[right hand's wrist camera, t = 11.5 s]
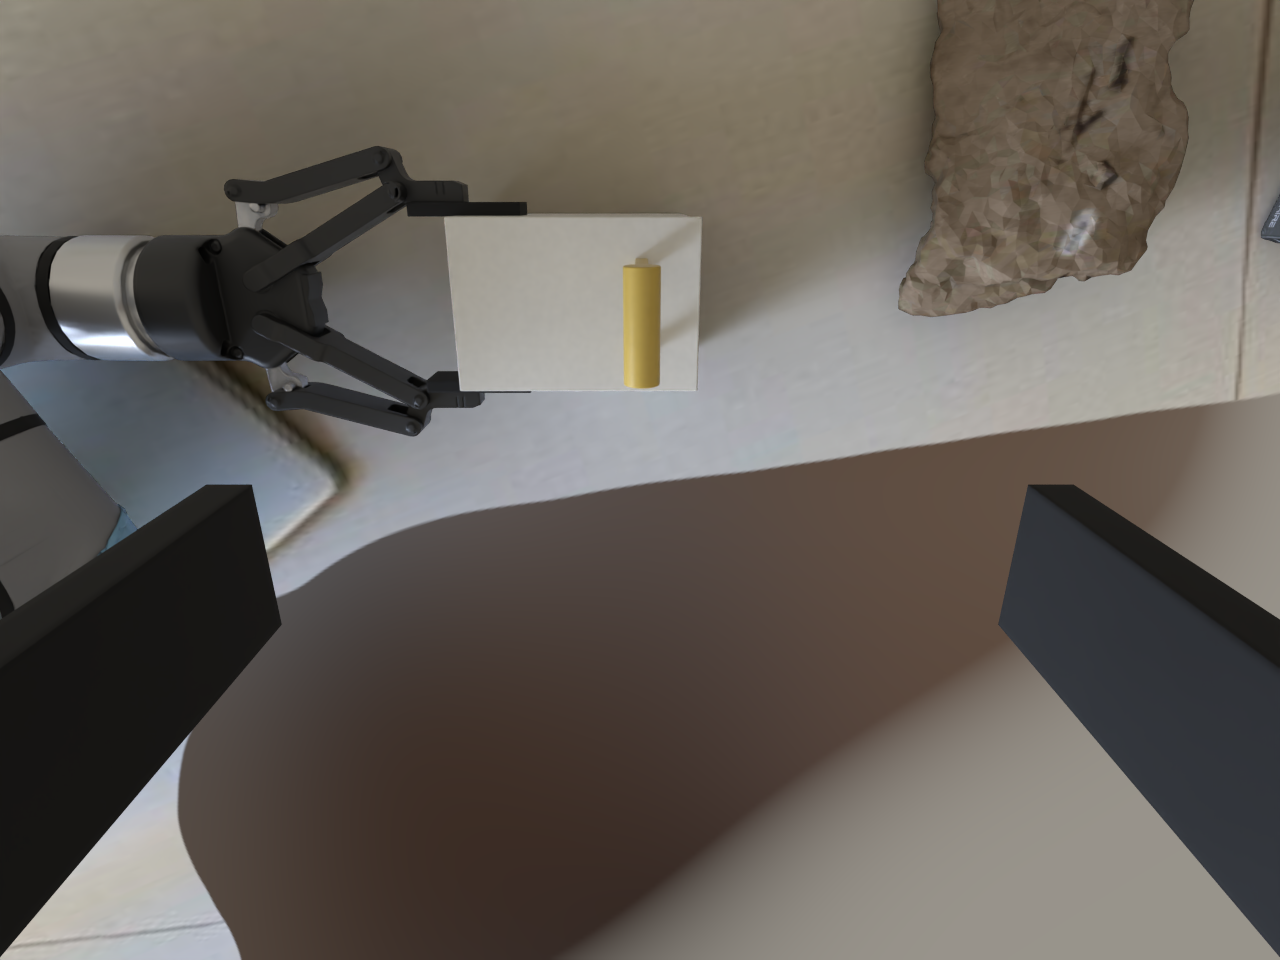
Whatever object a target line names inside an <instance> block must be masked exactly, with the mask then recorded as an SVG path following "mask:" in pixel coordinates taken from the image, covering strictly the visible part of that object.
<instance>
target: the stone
mask: <svg viewBox="0 0 1280 960" xmlns="http://www.w3.org/2000/svg"><path fill="white" fill-rule="evenodd" d="M1193 1H1194V0H937V4H938V12H937V17H938V23H939V27H940V31H941V34H940V36H939V37H938V39H937V41H936V42H935V48H934V52H933V56H932V59H931V63H930V73H931V80H932V83H933V86H934V88H933V104H934V111H935V115H936V118H935V120H934V122H933V124H932V140H931V142H930V146H929V150H928V153H927V156H926V158H925V161H924V162H925V168H924V170H925V173H926V174H927V175H929V176H931V177H933V179H934V182H935V185H934V188H933V190H932V197H933V201H932V205H931V210H932V212H933V219H932V222H931V228H930V230H929V231H928V232H927V234H926V235H925V236H923V237H922V238H921V240H920V243H919V246H918V248H917V251H916V258H915V262H914V264H913V265H912V266H911V267H910V268H909V270H908V272H907V273H906V278H903V280H902V282H901V284H900V288H899V301H898V306H899V309H900V310H902V311H904V312H906V313H908V314H911V315H922V316H928V317H937V316H945V315H952V314H960V313H966V312H970V311H973V310H976V309H978V308H992V307H994V306H996V305H1000V304H1005V303H1008V302H1010V301H1012V300H1014V299H1016V298H1018V297H1023V296H1027V295H1031V294H1038V293H1045V292H1047V291H1048V290H1050V289H1051V288H1052V286H1053V285H1054V283H1055V282H1056V280H1057V278H1062V277H1068V276H1074V277H1076V278H1077V279H1078V280H1079V281H1086V280H1088V279H1089V278H1091V277H1096V276H1102V275H1109V274H1112V275H1120V274H1122V273H1125V272H1128V271H1131V270H1132V268H1133V267H1134V266H1135V264H1136V263H1137V261H1138V260H1139V259H1140V258H1141V256H1142V255H1143V254H1144V253H1145V251H1146V250H1147V243H1146V237H1147V231H1148V229H1149V227H1150V225H1151V224H1152V222H1153V220H1154V218H1155V217H1156V215H1157V214H1158V213H1159V212H1160V211H1161V210H1162V209H1163V208H1164V206H1165V201H1166V199H1167V198H1168V196H1169V194H1170V193H1171V191H1172V189H1173V188H1174V186H1175V183H1176V180H1177V178H1178V175H1179V172H1180V169H1181V166H1182V162H1183V159H1184V155H1185V151H1186V147H1187V143H1188V138H1189V136H1188V118H1189V117H1188V112H1187V109H1186V107H1185V105H1184V103H1183V102H1182V101H1180V100H1179V99H1178V98H1177V97H1176V95H1175V93H1174V92H1173V89H1172V86H1171V72H1170V68H1169V65H1168V52H1169V50H1170V49H1171V47H1172V46H1173V44H1174V43H1175V41H1176V40H1178V39H1179V38H1181V37H1182V36H1184V35H1185V34H1186V33H1187V32H1188V30H1189V17H1190V10H1191V7H1192V4H1193Z"/></svg>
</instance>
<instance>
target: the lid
mask: <svg viewBox="0 0 1280 960" xmlns="http://www.w3.org/2000/svg"><path fill="white" fill-rule="evenodd" d="M444 225H445V235H446V246H447V257H448V267H449V278H450V288H451V299H452V309H453V320H454V331H455V341H456V352H457V362H458V373H459V384H460V391H697V381H698V348H699V314H700V281H701V248H702V217H700V216H448V217H444Z"/></svg>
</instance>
